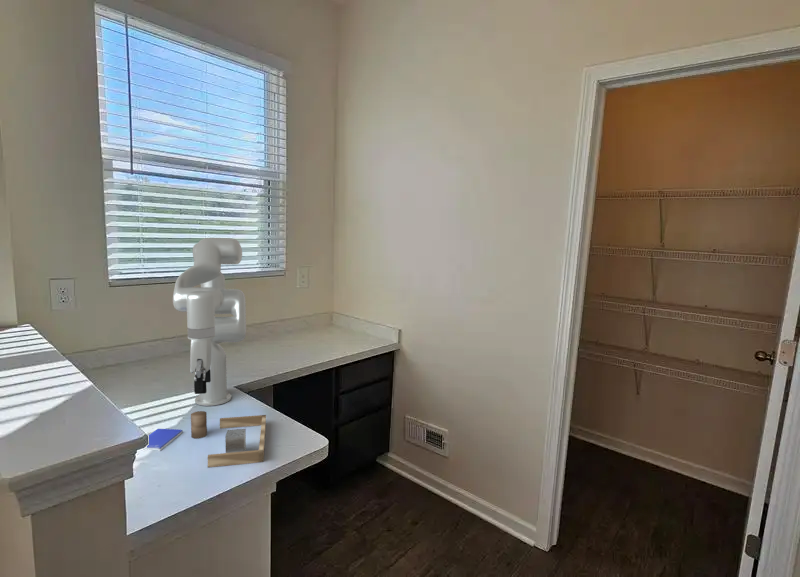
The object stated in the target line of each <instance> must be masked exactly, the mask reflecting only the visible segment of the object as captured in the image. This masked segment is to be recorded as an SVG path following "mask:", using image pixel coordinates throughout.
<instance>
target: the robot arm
mask: <svg viewBox="0 0 800 577" xmlns="http://www.w3.org/2000/svg"><path fill="white" fill-rule="evenodd" d="M192 257H193V260H194V261H193V265H192V266H190V267H189V268H187V269H186V270H184V271H183V272H182V273H181V274H180V275H179V276H178V277H177V279H176V281H175V284H174V289H173V292H172V293H173V295H172V305H173V307H174V309H175V310H176V311H178V312H182V313H183V312H186V323H187V324H186V325H187V326H186V327H187V329H186V330H187V339H188V340H190V352H189V353H190V354H189V355H190V356H189V357H190V358H189V360H190V361H189V362H190V363H189V372H190V373H191V374H193V373H194V379H193V384H194V387H193V388H194V392H193V393H194V394H195V395H196V397H195V398H194V403H195V404H197V405H199V406H205V407H206V406H207V407H211V406H220V405H224V404H226V403H228V402H229V401H231V399H232V395H231V393H230V392H228V391H227V390H228V388H227V387H228V386H227V383H228V382H227V381H228V380H227V353H226V351H225V349H224V348H223V346H222V345H221V344H220V343H236V342H237V343H238V342H242V341H243V340H244V339H245V338H246V334H247V318H246V317H247V309H246V308H247V307H246V306H247V303H246V301H247V300H246V295H245V293H244V292H243V291H242V290H241V289H238V288H237V289H236V288H226V277H225V275H224V274H223V272H222V269H221V268H222V265H233V266H234V265H239V264H241V262H242V259H243V249H242V246H241V244H240V242H239V240H237V239H235V238H231V237H205V238H202V239H200V240H199V241H198V242H197V243H195V244H194V245H193V246H192ZM199 285H200V287H196V286H199ZM215 315H232V316H215Z"/></svg>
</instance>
